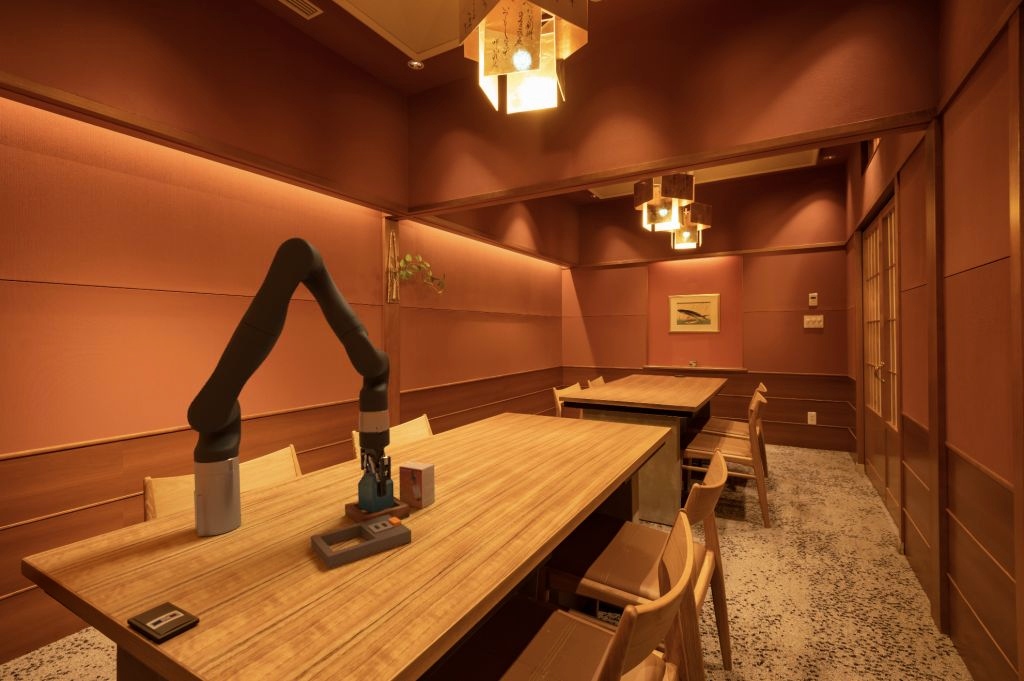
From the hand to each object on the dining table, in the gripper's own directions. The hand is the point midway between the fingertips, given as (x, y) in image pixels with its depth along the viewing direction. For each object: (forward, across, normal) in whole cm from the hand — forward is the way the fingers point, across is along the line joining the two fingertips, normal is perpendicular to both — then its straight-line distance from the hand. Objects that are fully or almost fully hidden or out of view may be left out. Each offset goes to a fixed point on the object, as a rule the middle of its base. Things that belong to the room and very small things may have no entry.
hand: (375, 491), depth 117 cm
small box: (+6, -1, +12) cm, 14 cm away
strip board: (+6, +13, -9) cm, 17 cm away
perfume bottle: (+4, 0, 0) cm, 4 cm away
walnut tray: (+6, 0, 0) cm, 6 cm away
